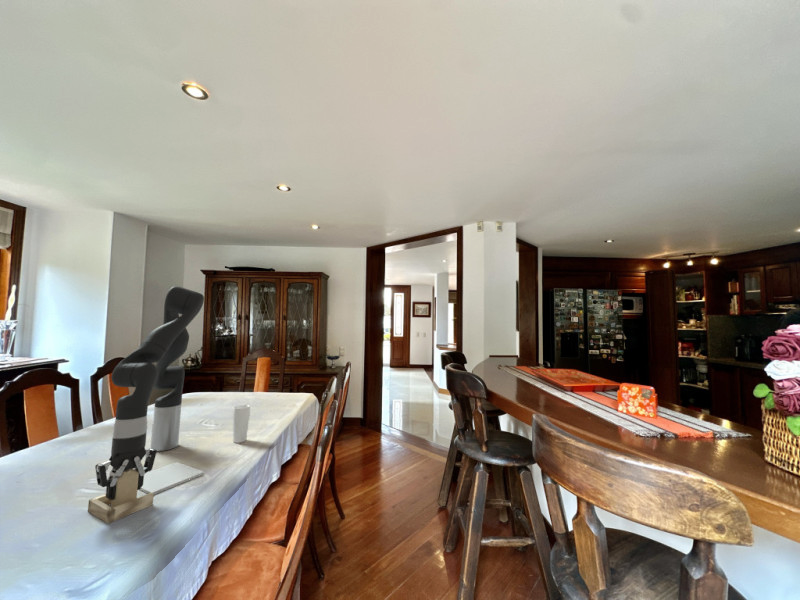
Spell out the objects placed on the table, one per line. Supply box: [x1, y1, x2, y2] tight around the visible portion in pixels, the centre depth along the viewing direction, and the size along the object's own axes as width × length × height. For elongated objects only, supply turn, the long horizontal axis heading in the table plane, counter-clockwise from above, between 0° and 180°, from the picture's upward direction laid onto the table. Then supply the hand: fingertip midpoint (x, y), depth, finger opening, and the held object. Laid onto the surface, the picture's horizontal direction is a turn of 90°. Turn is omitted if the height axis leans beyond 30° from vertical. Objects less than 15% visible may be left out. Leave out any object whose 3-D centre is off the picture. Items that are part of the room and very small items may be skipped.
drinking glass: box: [232, 404, 251, 444], centre depth 144 cm, size 7×7×15 cm
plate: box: [139, 461, 205, 495], centre depth 108 cm, size 16×16×1 cm
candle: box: [110, 469, 139, 508], centre depth 91 cm, size 6×6×10 cm
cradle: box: [87, 493, 155, 524], centre depth 90 cm, size 10×11×3 cm
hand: (124, 493), depth 91 cm, fingers closed on candle, 5 cm apart
